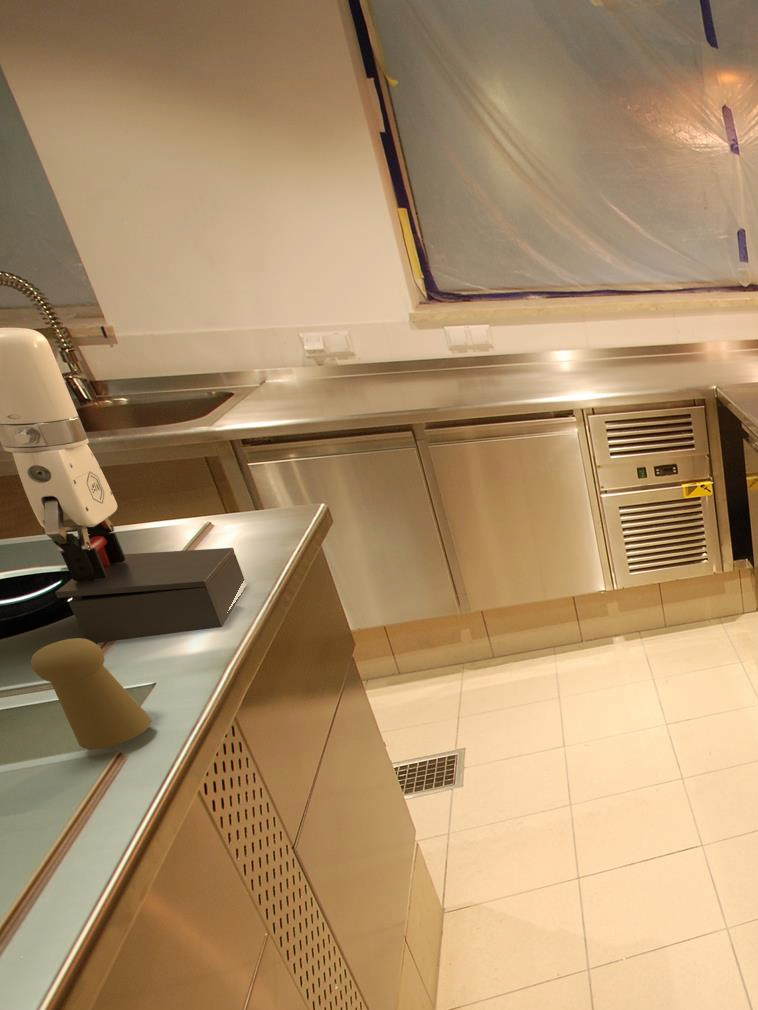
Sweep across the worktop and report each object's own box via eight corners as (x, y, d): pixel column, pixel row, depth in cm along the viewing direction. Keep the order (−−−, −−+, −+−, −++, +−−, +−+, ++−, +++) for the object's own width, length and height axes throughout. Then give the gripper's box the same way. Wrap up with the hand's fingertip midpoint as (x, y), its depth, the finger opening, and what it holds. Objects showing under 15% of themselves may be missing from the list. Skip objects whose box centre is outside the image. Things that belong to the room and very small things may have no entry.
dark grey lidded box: (91, 651, 108) (68, 602, 105) (132, 610, 120) (112, 565, 117) (224, 634, 114) (206, 587, 111) (250, 596, 126) (235, 552, 123)
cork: (66, 753, 88) (2, 666, 82) (98, 720, 92) (40, 635, 87) (134, 743, 89) (77, 656, 83) (162, 710, 94) (110, 626, 88)
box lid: (57, 598, 105) (42, 561, 103) (102, 561, 117) (90, 527, 115) (206, 586, 111) (195, 551, 109) (234, 552, 123) (225, 520, 121)
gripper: (53, 446, 98) (114, 588, 106) (108, 420, 112) (158, 548, 120) (-35, 450, 95) (34, 597, 103) (32, 423, 109) (89, 554, 117)
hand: (100, 569), depth 111 cm, fingers closed on box lid, 6 cm apart
